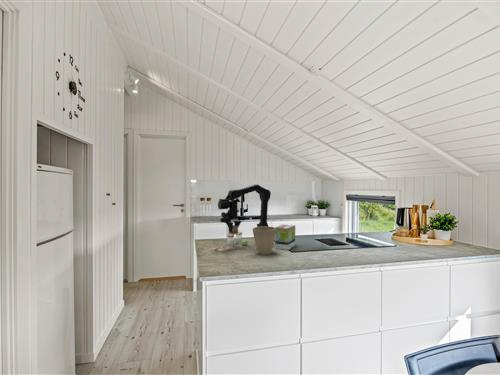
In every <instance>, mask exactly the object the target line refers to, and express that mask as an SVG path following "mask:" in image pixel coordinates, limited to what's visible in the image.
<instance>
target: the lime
mask: <svg viewBox="0 0 500 375" xmlns="http://www.w3.org/2000/svg"><path fill="white" fill-rule="evenodd" d="M248 244H249V240H248V239H246V238H244V239H243V238H242V244H241V245H244V246H247V245H248Z"/></svg>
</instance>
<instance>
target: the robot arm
mask: <svg viewBox="0 0 500 375" xmlns="http://www.w3.org/2000/svg"><path fill="white" fill-rule="evenodd" d="M252 192H255V193H257V194H258V196H259V199H260V214H259V215H260V219H259V223H257V224H256V227H265V226H266V227H269V224H268V206H269V205H268V204H269V201H270V199H271V194H272V193H271V190H270V189H266V188H265V187H262V186H261V185H259V184H253V185H251V186H246V187H244V188H239V189H232V190H229V191H228V192H227V195H226V197H225V198H219V200H218V203H217V207H218V210H227V211H226V212H225V211H222V212H221V215H220V216H221V218H220V220H219V222H220V223H225V224H226V226H227V228H228V229H229V231H230V232H232V227H233V225H235V226H238V228H239V227H240V225H241V223H242V222H243V221H246V217H245V216H244V215H239V214H238V213H239V211H240V210H239V208H238V204H239V203H241V200H240V199H239V198H240V197H242V196H244V195H247V194H249V193H252Z"/></svg>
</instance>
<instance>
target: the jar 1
mask: <svg viewBox="0 0 500 375" xmlns="http://www.w3.org/2000/svg"><path fill="white" fill-rule="evenodd" d="M226 238H227V240H226V241H227V245H226V246H231V247H234V245H235V234H234V235H233V234H229V235H228V234H227V235H226Z"/></svg>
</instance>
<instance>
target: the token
mask: <svg viewBox="0 0 500 375" xmlns="http://www.w3.org/2000/svg"><path fill="white" fill-rule="evenodd" d="M238 232H239V227H238V226H235V224H233V227H232V232H230V231H229V228H228V233H229V234H234V235H236V234H237V233H238ZM228 233H227V234H228Z"/></svg>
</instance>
